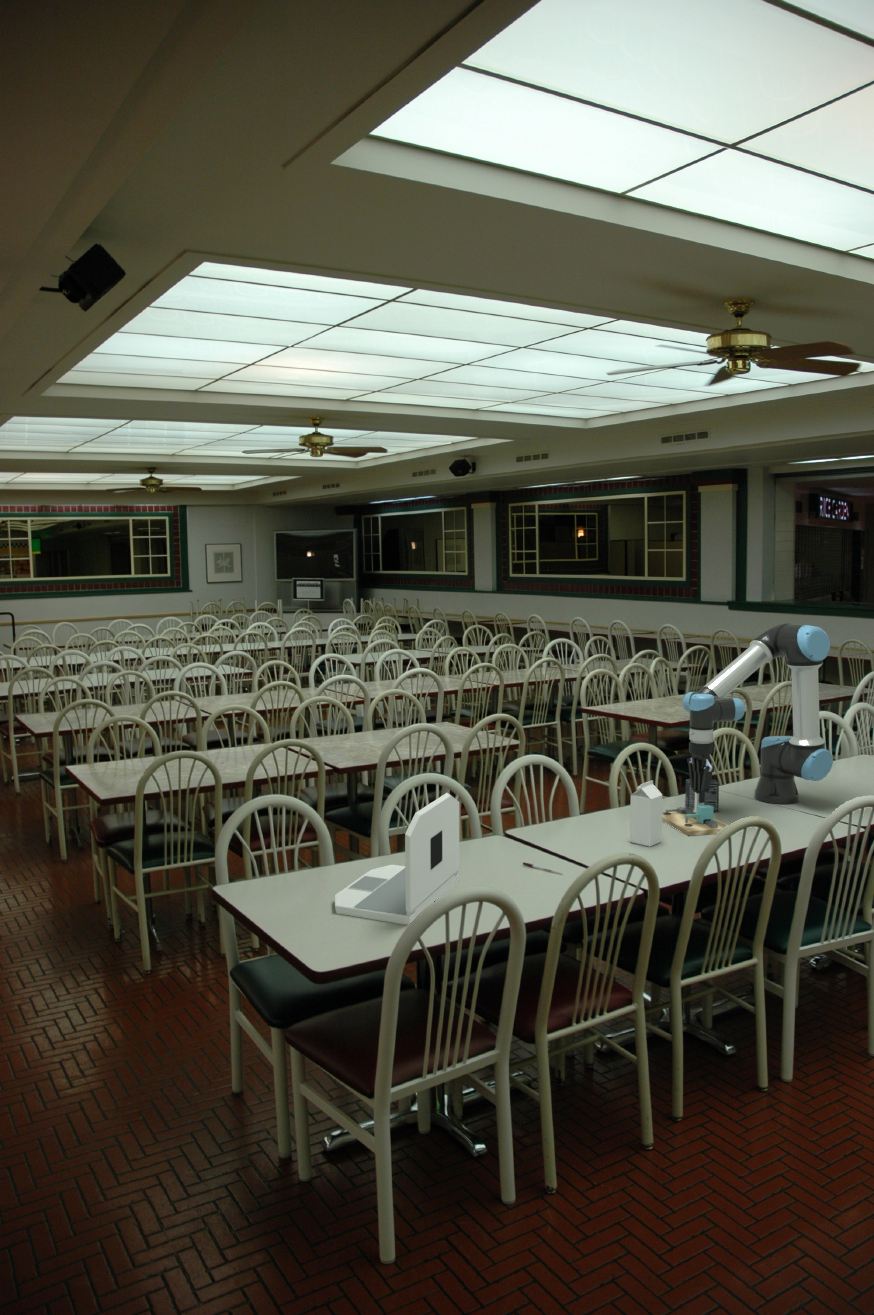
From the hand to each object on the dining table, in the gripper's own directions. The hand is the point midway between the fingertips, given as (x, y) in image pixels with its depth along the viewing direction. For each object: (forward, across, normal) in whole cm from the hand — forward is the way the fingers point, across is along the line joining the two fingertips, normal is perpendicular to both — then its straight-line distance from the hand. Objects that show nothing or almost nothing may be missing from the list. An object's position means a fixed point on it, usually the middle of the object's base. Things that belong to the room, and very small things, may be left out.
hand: (699, 811), depth 306 cm
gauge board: (+4, 0, -2) cm, 5 cm away
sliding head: (+2, +4, -3) cm, 5 cm away
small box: (+5, -15, +10) cm, 18 cm away
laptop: (+5, +35, -111) cm, 117 cm away
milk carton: (+4, +13, -26) cm, 30 cm away
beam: (+3, 0, -3) cm, 4 cm away
